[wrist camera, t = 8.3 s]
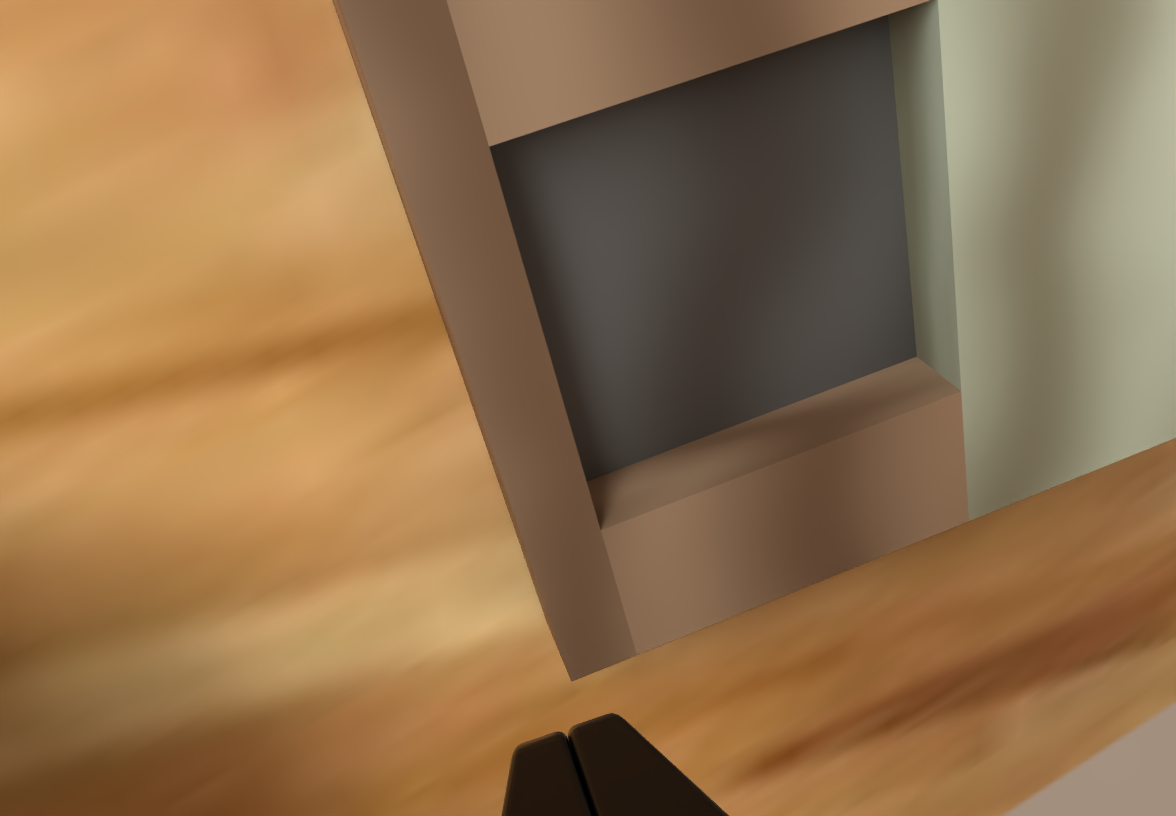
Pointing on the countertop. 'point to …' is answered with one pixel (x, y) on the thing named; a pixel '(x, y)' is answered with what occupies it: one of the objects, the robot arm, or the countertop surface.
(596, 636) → the trap board
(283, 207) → the countertop surface
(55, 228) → the countertop surface
